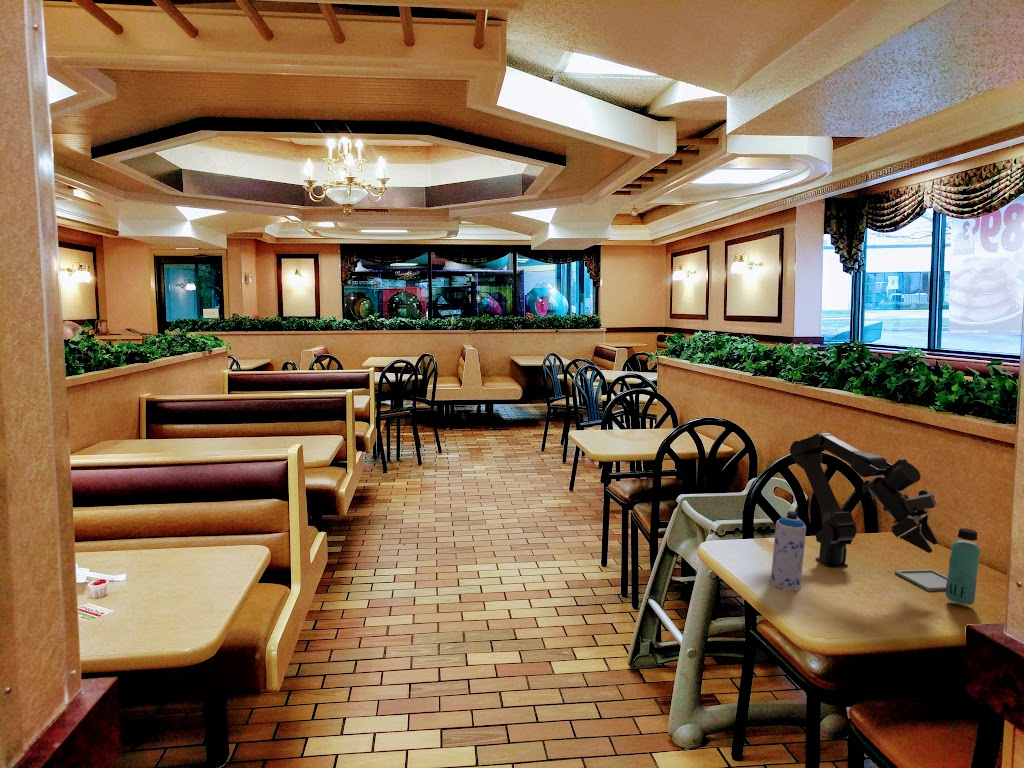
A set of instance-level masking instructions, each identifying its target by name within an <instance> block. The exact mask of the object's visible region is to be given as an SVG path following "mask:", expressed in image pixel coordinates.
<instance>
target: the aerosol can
mask: <svg viewBox="0 0 1024 768" xmlns="http://www.w3.org/2000/svg"><path fill="white" fill-rule="evenodd" d="M806 526H807V525H806V524H805V523H804V521H803V520H802V519H800V518H799V517H798V515H797V511H792V510H791V511H787V515H784V516H781V517H779V519H778V520H776V523H775V530H774V542H773V543H774V544H773V552H772V553H773V554H772V563H771V564H772V565H771V575H770V580H769V584H770V585H772V586H773V587H775V588H777V589H780V590H783V591H791V592H796V591H799V590H801V589H802V584H801V583H802V575H803V573H802V572H803V565H804V564H803V562H804V552H805V546H806V545H805V544H806V543H805V542H806V534H807V527H806Z"/></svg>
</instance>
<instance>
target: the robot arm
mask: <svg viewBox="0 0 1024 768" xmlns="http://www.w3.org/2000/svg"><path fill="white" fill-rule="evenodd" d="M825 451H827V452H829V453H831V454H832V455H833V456H835V457H838V458H839V459H841V460H842V461H844V462H847V464H849V465H850V467H851V469H852V470H853V471H854V472H855V473H856V474H857V475H858V476H860V477H861V478H873V479H872V480H865V481H864V482H862V490H861V492H862V493H863V494H865V493H866V492H868V491H870V492H871V493H872V495H873V496H874V498H876V499H877V500H878V502H879V503H880V504H881V506H882V510H883V511H884V512H888V514H889V515H890V516H891V517H892V518H893V519H894V520H893V522H894V524H893V525H892V526H891V533H892V534H893V535H894V537H895V538H899V539H901V540H902V541H905V542H907V543H910V544H911V545H913V546H915V547H917V548H918V549H921V550H922V551H924V552H926V553H927V554H931V553H933V549H932V546H931V545H930V544H929V543H931V544H932V545H934V546H936V545H937V544H938V543H939V541H938V540H937V538H936V536H935V534H934V532H933V530H932V528H931V526H930V524H929V517H930V513H929V509H933V508H936V506H937V505H938V504H937V501H936V499H935V495H934V494H933V493H932V492H929V491H928V490H927V489H922V490H919V491H918V494H917V495H915V496H912V497H911V496H908V494H906V493H902V492H903V491H904V490H906V489H908V488H910V487H911V486H912V485H914V484H916V483H918V482H919V481H920V480H921V476H922V475H921V473H920V471H919V469H918V468H916V467H915V466H914V465H913V464H911V463H910V462H908V460H907V459H905V458H900V459H898V460H897V461H895V462H894V463H893V464H891V463H890V462H888V461H887V459H886V458H885V457H883V456H882V455H878V454H876V453H875V454H874V453H871V452H866V451H862V450H859V449H858V448H856V447H854V446H852V445H850V444H848V443H846V442H845V441H843V440H841V439H839V438H838V437H835V436H834V435H833V434H831V433H828V432H819V433H816V434H813V435H811V436H809V437H807V438H804V439H801V440H794V441H793V442H792V443H791V445H790V448H789V454H790V455H791V457H792V459H793V461H794V462H795V464H797V465H798V466H799V467H800V468H801V469H802V470H803V471H804V472H805V475H806V477H807V480H808V482H809V484H810V486H811V488H812V489H811V490H812V491H813V493H814V495H815V498H816V501H817V503H818V505H819V507H820V510H821V512H822V519H821V525H822V529H820V530H819V531H818V532H816V533H815V540H816V542H817V543H819V544H820V545H819V546H820V547H819V556H818V557H815V560H816V561H818V562H819V563H821V564H823V565H825V566H826V567H829V568H845V567H848V566H849V564H847V563H846V560H847V551H848V550H847V545H852V542H853V540H854V539H855V537H856V534H857V532H858V531H857V527H856V526H857V523H856V522H855V520H854V518H853V515H852V513H851V512H850V511H844V510H843V509H842V508H841V506H840V505H839V503H838V500H837V499H836V498H837V497H836V496H835V494H834V491H833V489H832V487H831V485H830V483H829V481H828V478H827V476H826V474H825V471H824V470H823V467H822V459H823V454H822V453H823V452H825ZM883 476H884V477H883Z"/></svg>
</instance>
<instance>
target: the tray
mask: <svg viewBox="0 0 1024 768" xmlns="http://www.w3.org/2000/svg"><path fill="white" fill-rule="evenodd" d="M894 574H895V575H896V576H898V577H901V578H902V579H904V580H906V581H908V582H910V583H912V584H913V585H916V586H917V587H920V588H921V589H922V590H924V591H927V592H940V591H941V592H944V591H945V592H946V588H947V586H946V583H947V581H948V576H946V575H944V574H942V573H940V572H937V571H936V570H933V569H910V570H909V569H905V570H904V569H903V570H895V571H894Z"/></svg>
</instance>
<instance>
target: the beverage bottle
mask: <svg viewBox="0 0 1024 768" xmlns="http://www.w3.org/2000/svg"><path fill="white" fill-rule="evenodd" d="M957 537H958V538H959V539H962V540H959V539H958V540H956V541H954V542H952V543H951V549H950V550H951V551H950V555H949V562H948V566H949V567H948V572H947V576H946V577H948V581H947V583H946V586H947V588H946V591H945V593H944V594H945V597H946V599H947V600H949V601H951V602H952V603H953V602H954V603H956V604H962V605H967V606H968V605H969V606H970V605H973V604H974V603H975V599H976V592H977V581H978V571H979V565H980V556H981V550H982V549H981V547H979V546H978V545H977V544H976V543H975V541H977V540H978V532H977V531H976V530H974V529H970V528H966V527H963V528H962V527H961V528H959V529H958V533H957Z"/></svg>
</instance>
